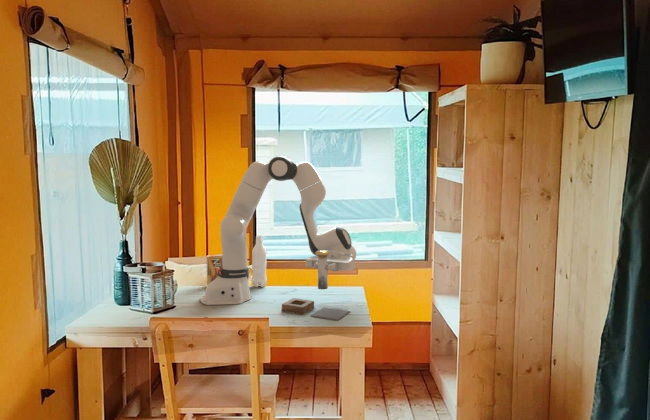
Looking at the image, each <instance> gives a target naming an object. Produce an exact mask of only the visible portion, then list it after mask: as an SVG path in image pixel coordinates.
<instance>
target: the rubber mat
mask: <svg viewBox="0 0 650 420" xmlns="http://www.w3.org/2000/svg"><path fill="white" fill-rule="evenodd" d="M350 312H351V311H350V310H346V309H339V308H332V307H326V306H324V307H321V308H320V309H318V310H316V311H315V312H313V313H311V314H310V317H312V318H318V319H319V318H320V319H324V320H330V321H337V322H338V321H340V320H341V319H342V318H344V317H345V316H347V315H348V314H349V313H350Z"/></svg>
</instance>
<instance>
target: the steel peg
mask: <svg viewBox="0 0 650 420" xmlns="http://www.w3.org/2000/svg"><path fill="white" fill-rule="evenodd" d="M316 255H317V256H318V269H317V289H318V290H327V289H328V288H329V287H328V279H329V277H328V272H329V270H327V269H326V265H328V258H327V256H328V255H329V251H326V250H320V251H316ZM316 255H315V256H316Z"/></svg>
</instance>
